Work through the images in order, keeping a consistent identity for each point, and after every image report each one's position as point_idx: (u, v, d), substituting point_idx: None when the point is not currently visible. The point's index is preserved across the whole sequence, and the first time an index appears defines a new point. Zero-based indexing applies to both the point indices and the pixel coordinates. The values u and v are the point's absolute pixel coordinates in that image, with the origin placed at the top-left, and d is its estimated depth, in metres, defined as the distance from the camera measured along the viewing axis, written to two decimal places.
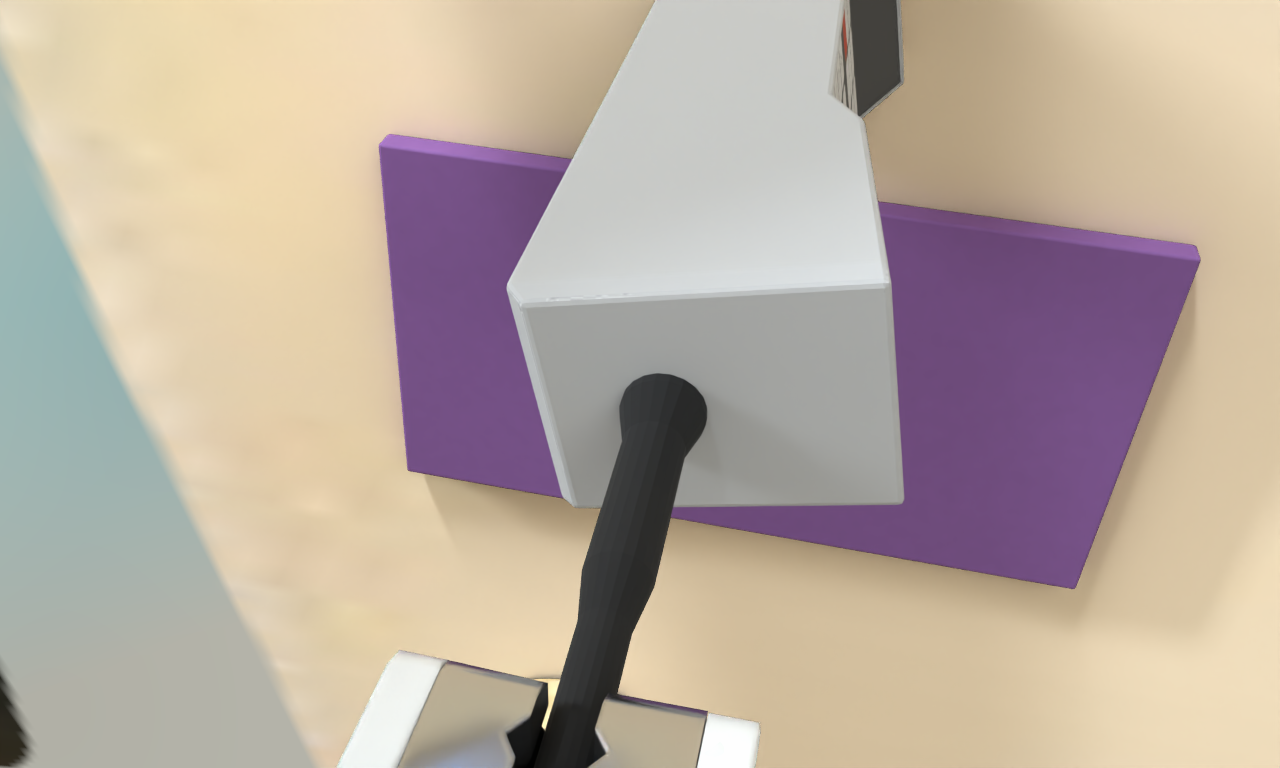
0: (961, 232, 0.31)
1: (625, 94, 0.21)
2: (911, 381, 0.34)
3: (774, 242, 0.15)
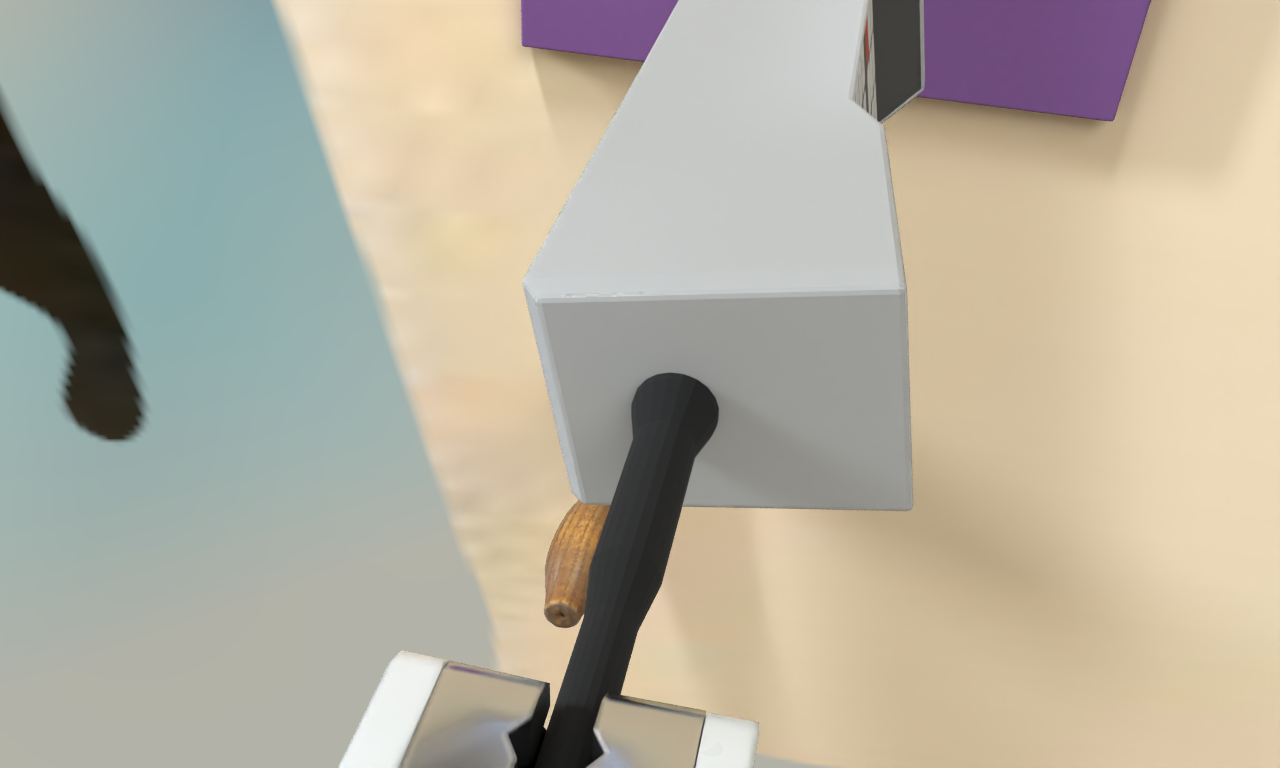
0: None
1: (646, 93, 0.21)
2: None
3: (791, 246, 0.15)
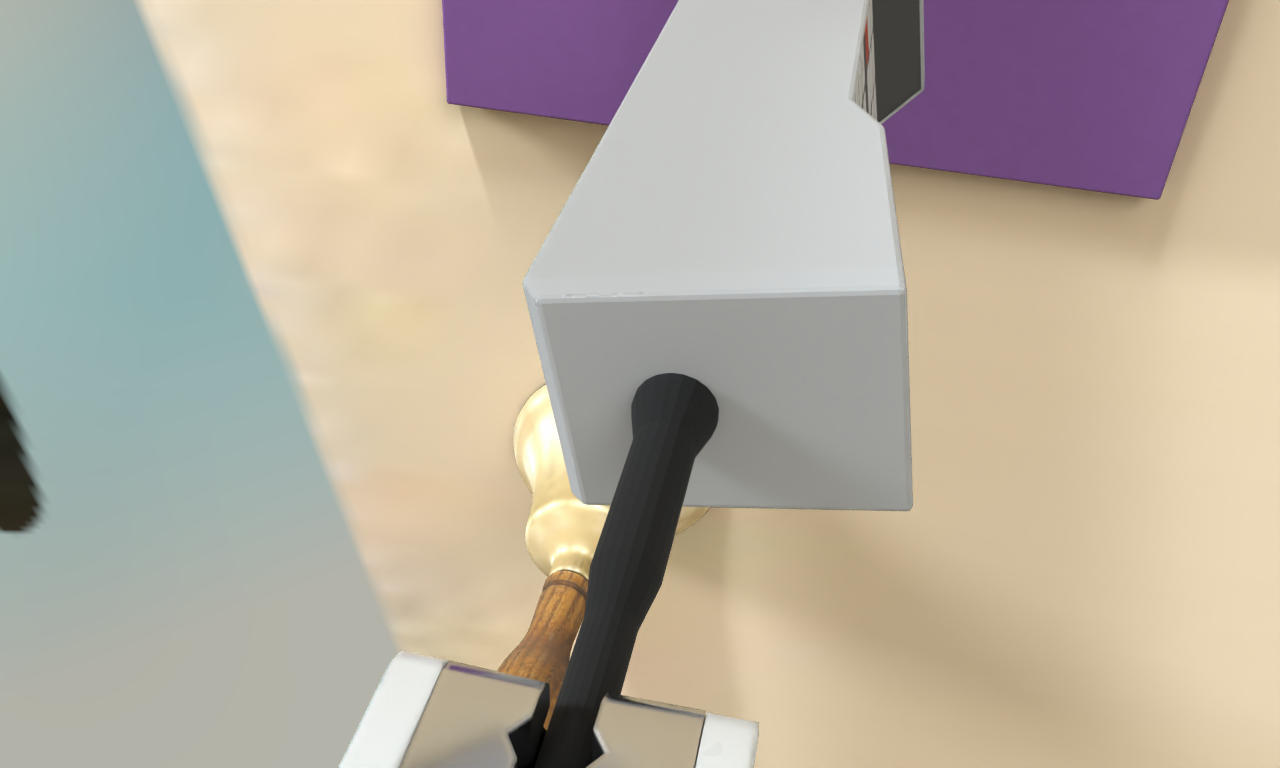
0: None
1: (646, 93, 0.21)
2: None
3: (790, 246, 0.15)
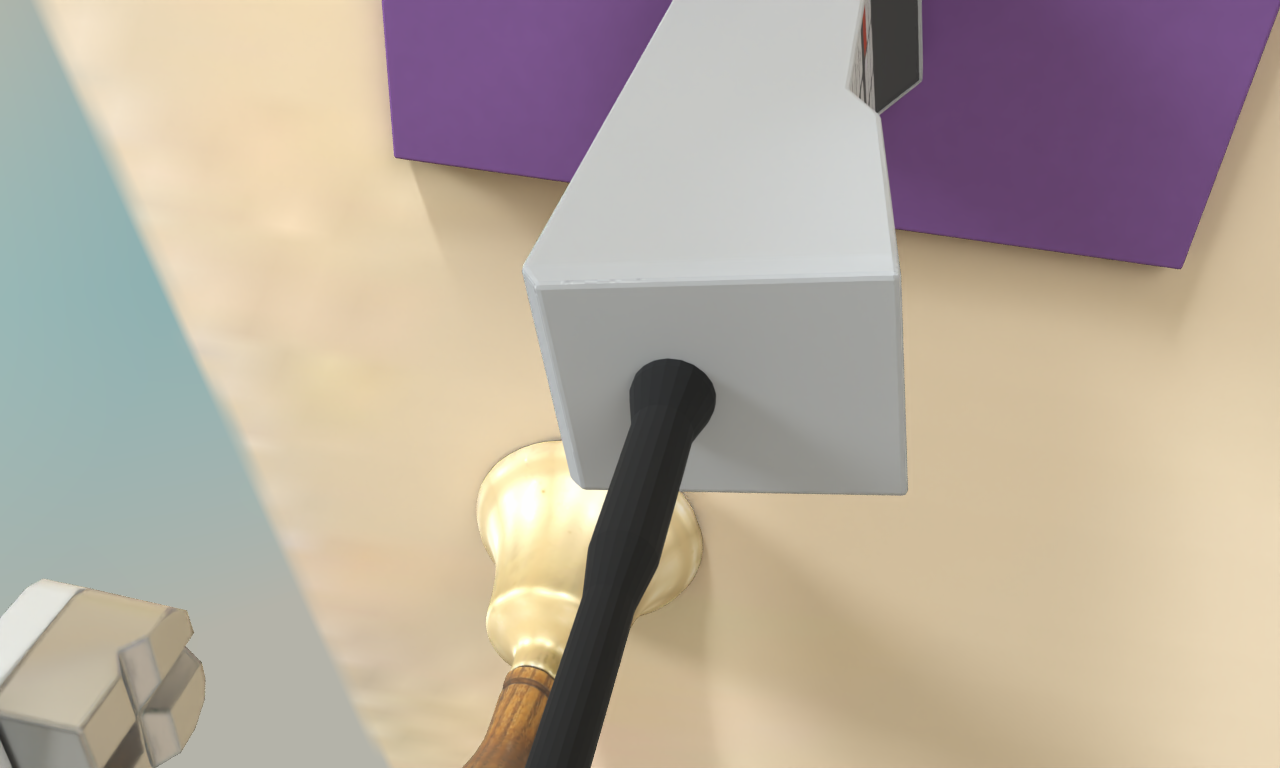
0: None
1: (645, 83, 0.21)
2: None
3: (786, 233, 0.16)
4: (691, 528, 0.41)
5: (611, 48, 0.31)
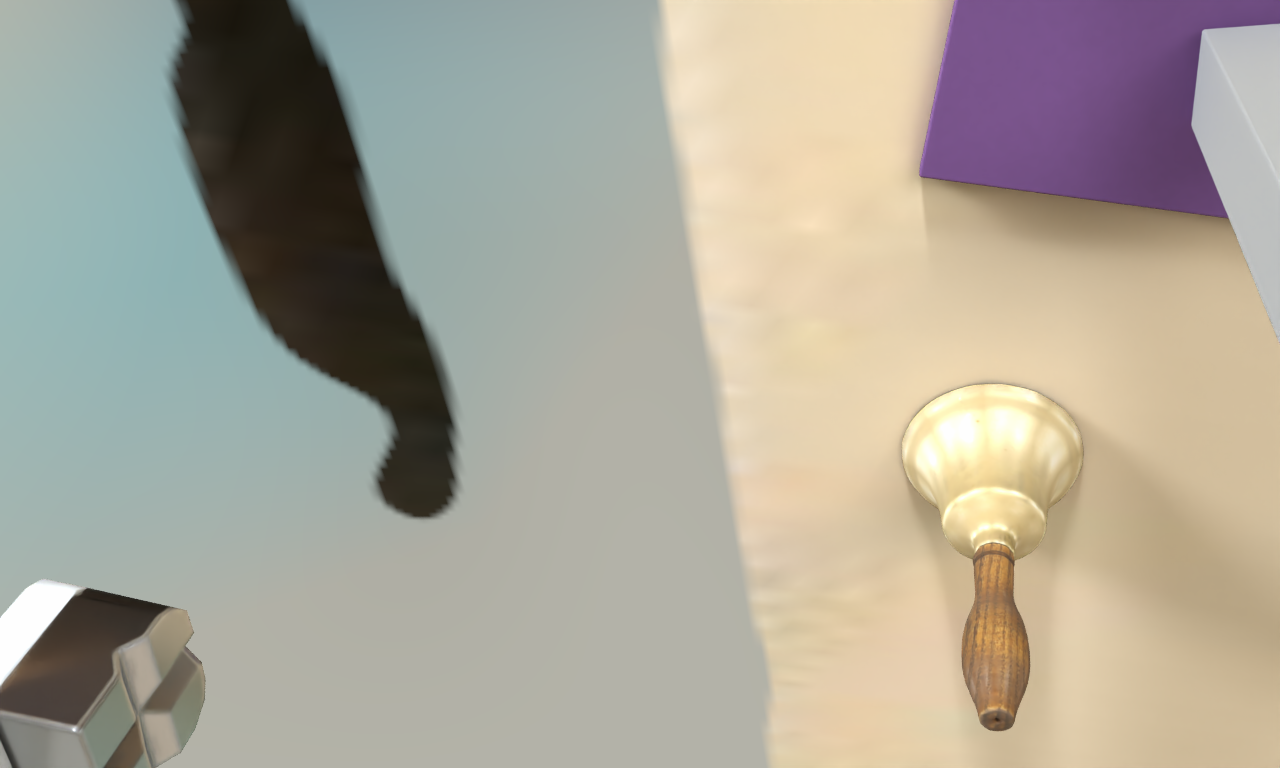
0: None
1: (1273, 140, 0.35)
2: None
3: None
4: (1079, 449, 0.55)
5: (1107, 102, 0.45)
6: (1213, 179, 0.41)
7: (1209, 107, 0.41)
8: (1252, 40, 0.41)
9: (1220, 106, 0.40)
